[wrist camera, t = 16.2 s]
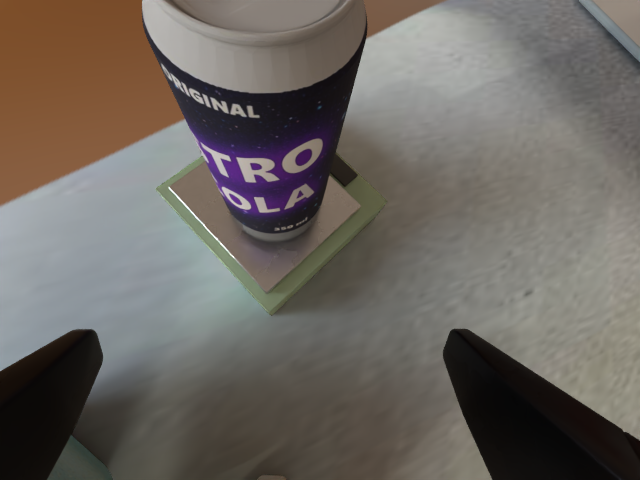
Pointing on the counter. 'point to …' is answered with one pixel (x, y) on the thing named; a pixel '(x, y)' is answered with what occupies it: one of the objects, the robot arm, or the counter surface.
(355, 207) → the pan
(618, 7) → the smartphone
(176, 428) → the counter surface
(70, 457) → the flower pot
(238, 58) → the beverage can
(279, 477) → the pale two-lobed sculpture
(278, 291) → the scale
